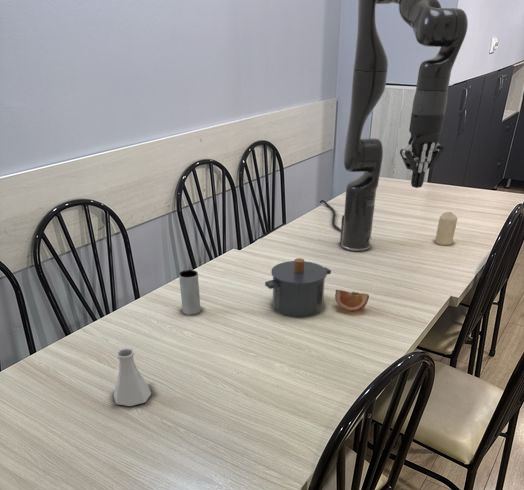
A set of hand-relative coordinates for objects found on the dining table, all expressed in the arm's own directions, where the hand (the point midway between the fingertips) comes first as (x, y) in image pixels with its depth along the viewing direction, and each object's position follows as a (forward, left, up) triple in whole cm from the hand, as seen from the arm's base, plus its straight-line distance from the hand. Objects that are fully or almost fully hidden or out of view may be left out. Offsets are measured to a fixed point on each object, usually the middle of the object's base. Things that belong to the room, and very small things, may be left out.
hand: (416, 186), depth 127 cm
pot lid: (-4, -32, -18) cm, 37 cm away
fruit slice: (+4, -21, -27) cm, 35 cm away
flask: (+12, -81, -27) cm, 86 cm away
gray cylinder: (-15, -57, -27) cm, 65 cm away
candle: (-18, +36, -27) cm, 49 cm away
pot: (-4, -32, -27) cm, 42 cm away
